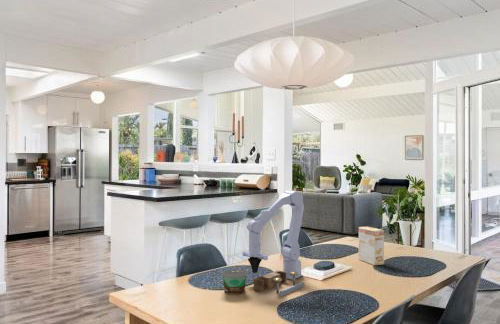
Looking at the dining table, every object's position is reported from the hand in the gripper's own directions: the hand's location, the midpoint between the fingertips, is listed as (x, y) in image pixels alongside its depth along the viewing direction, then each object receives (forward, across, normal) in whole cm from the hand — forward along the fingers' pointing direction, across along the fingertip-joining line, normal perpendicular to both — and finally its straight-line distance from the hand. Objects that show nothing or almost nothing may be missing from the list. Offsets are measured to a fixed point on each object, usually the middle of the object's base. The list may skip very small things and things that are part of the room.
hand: (255, 272), depth 211 cm
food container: (+5, +4, -18) cm, 19 cm away
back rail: (+5, +22, 0) cm, 23 cm away
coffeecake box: (+4, +28, +72) cm, 77 cm away
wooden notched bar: (+5, +10, 0) cm, 11 cm away
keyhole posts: (+5, +18, 0) cm, 19 cm away
